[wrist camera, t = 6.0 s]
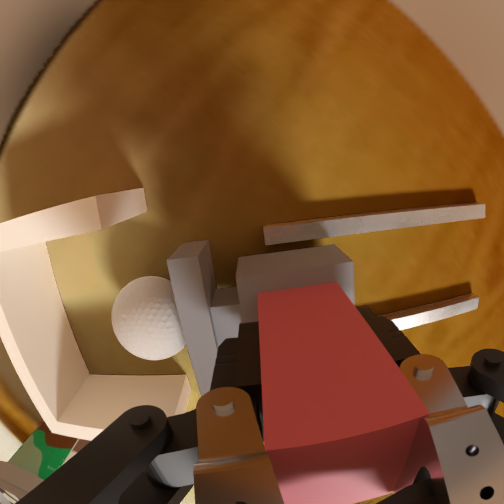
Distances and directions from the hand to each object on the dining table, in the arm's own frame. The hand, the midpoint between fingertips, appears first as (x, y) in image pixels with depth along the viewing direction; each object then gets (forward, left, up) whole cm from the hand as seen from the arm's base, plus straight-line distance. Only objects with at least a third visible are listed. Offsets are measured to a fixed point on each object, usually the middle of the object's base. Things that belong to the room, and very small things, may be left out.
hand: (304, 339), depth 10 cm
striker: (+1, 0, -4) cm, 4 cm away
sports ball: (+7, 0, -5) cm, 8 cm away
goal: (+10, 0, -5) cm, 11 cm away
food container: (+20, +12, -5) cm, 24 cm away
